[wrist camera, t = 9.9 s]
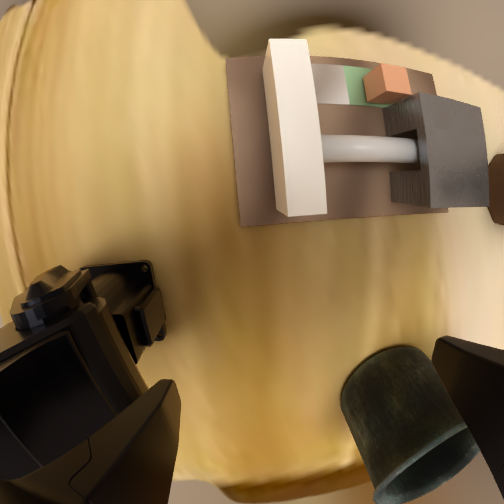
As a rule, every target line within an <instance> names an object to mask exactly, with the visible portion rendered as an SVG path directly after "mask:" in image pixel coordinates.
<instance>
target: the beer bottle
mask: <svg viewBox="0 0 504 504" xmlns="http://www.w3.org/2000/svg"><path fill="white" fill-rule="evenodd" d="M488 175H489V207H488V208H489V211H490V213H491V216H492V218H493V221H494V222H495V223H498V224H501V225H504V154H498V155H496V156H495V158H494V159H493V161H492V162H491V164H490V165H489V167H488Z"/></svg>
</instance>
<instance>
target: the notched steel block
mask: <svg viewBox="0 0 504 504" xmlns="http://www.w3.org/2000/svg"><path fill="white" fill-rule="evenodd" d="M382 111H383V118H384V125H385V133H386V137H397V138H409V139H416V140H418V144H419V154H420V166H421V171H396V172H389V175H390V192H391V202H396V203H403V204H409V205H415V206H422V207H428V208H447V207H489V175H488V160H487V150H486V141H485V133H484V127H483V120H482V115H481V109H480V108H479V107H476V106H473V105H470V104H467V103H463V102H460V101H456V100H452V99H448V98H444V97H440V96H436V95H432V94H427V93H422V92H417V93H415V94H413V95H410V96H408V97H406V98H404V99H402V100H400V101H398V102H395V103H393V104H391V105H389V106H387V107H385V108H383V109H382Z"/></svg>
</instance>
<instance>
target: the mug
mask: <svg viewBox="0 0 504 504" xmlns="http://www.w3.org/2000/svg"><path fill="white" fill-rule="evenodd" d="M341 410H342V412H343V414H344V417H345V419H346V421H347V424H348V426H349V428H350V431H351V433H352V435H353V438H354V440H355V442H356V445H357V447H358V450H359V452H360V454H361V457H362V459H363V461H364V464H365V466H366V469H367V471H368V473H369V476H370V478H371V481H372V483H373V486H374V488H375V491H374V493H373V501H374V502H375V503H376V504H403V503H406V502H409V501H412V500H414V499H416V498H419V497H421V496H422V495H425V494H427V493H429V492H431V491H433V490H434V489H436V488H438V487H439V486H441V485H442V484H444V483H445V482H447V481H448V480H450V479H451V478H452V477H453V476H455V475H456V474H457V473H459V472H460V471H461V470H462V469H463V468H464V467H465V466H466V465H467V464H468V463H470V462H471V460H472V459H473V458H474V457H475V456H476V455H477V454H478V453H479V451H480V449H479V447H478V445H477V444H476V442H475V440H474V438H473V436H472V434H471V433H470V431H469V429H468V427H467V426H466V424H465V422H464V421H463V419H462V417H461V415H460V414H459V412H458V410H457V409H456V407H455V405H454V404H453V402H452V401H451V399H450V397H449V396H448V394H447V392H446V390H445V388H444V386H443V384H442V382H441V380H440V378H439V376H438V374H437V372H436V370H435V368H434V366H433V364H432V361H431V360H430V359H429V358H428V357H427V356H426V355H425V354H424V353H423V352H422V351H421V350H419V349H417V348H413V347H397V348H392V349H388V350H385V351H383V352H381V353H379V354H377V355H375V356H373V357H372V358H370V359H369V360H367V361H366V362H365V363H363V364H362V365H361V366H360V367H359V368H358V369H357V370H356V371H355V372H354V373H353V375H352V376H351V377H350V379H349V380H348V382H347V383H346V386H345V388H344V390H343V393H342V397H341Z"/></svg>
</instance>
